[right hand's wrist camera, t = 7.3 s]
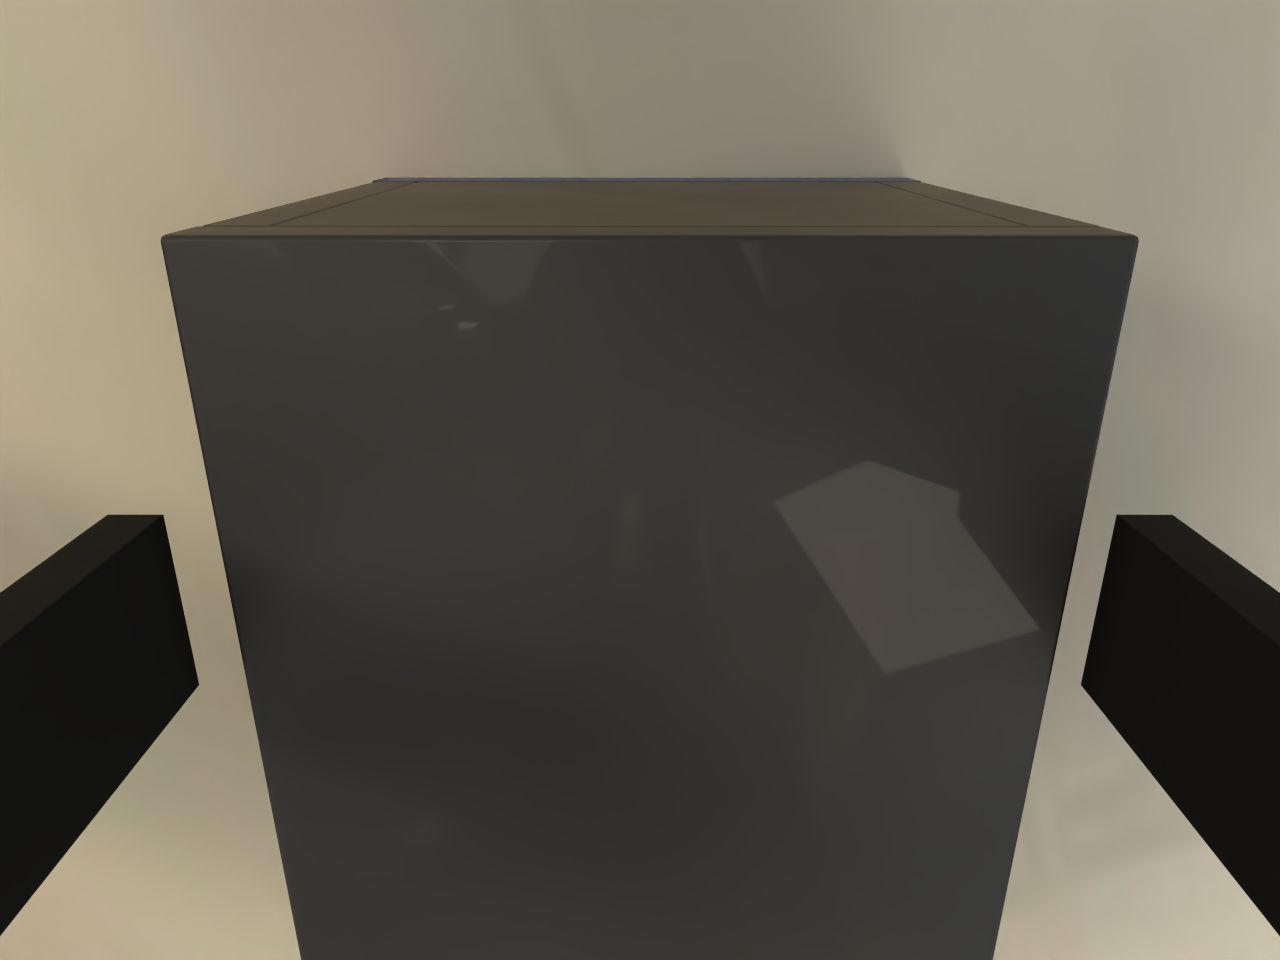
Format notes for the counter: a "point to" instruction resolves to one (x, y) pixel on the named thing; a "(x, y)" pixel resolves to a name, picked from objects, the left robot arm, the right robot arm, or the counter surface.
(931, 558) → the cabinet
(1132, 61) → the counter surface
